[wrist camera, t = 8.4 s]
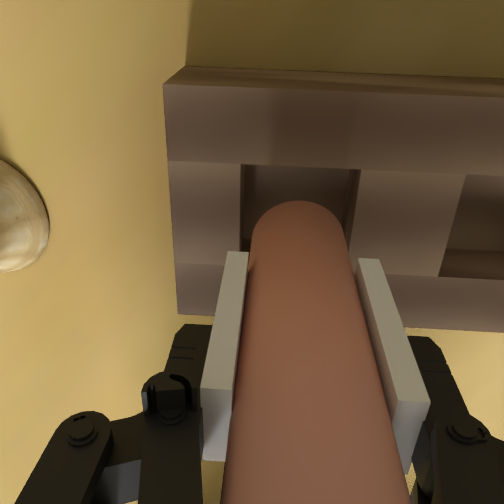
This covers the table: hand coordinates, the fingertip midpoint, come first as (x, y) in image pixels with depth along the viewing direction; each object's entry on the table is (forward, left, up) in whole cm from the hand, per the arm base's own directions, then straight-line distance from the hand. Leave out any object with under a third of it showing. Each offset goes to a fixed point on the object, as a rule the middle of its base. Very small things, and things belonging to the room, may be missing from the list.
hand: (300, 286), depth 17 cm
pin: (0, 0, -3) cm, 3 cm away
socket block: (0, -5, -11) cm, 12 cm away
